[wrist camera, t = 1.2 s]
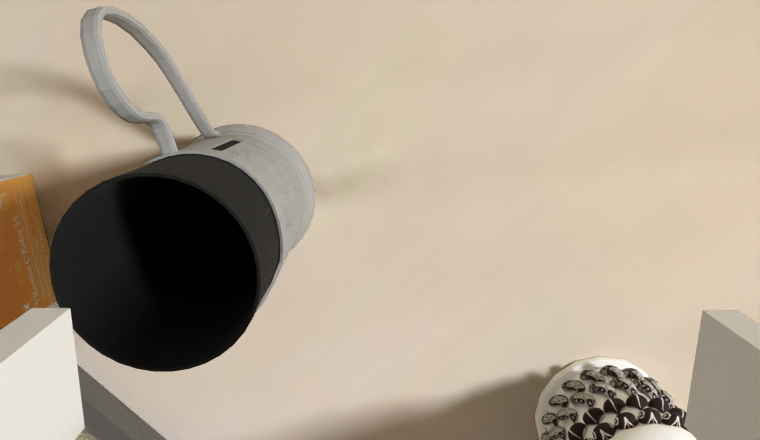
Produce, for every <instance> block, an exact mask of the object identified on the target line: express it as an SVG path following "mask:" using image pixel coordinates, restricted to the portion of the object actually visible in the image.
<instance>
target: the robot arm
mask: <svg viewBox="0 0 760 440" xmlns="http://www.w3.org/2000/svg"><path fill="white" fill-rule="evenodd" d="M684 426H685V427H686V428H687V429H688V431H689V432H690V433H691V434H692V435H693V436H694V437H695V438H696V439H697V440H760V324H759V323H758V322H756V321H755V320H753V319H751V318H750V317H748V316H747V315H745V314H744V313H742V312H740V311H739V310H703V312H702V318H701V324H700V331H699V337H698V343H697V350H696V356H695V362H694V369H693V375H692V381H691V387H690V394H689V400H688V406H687V413H686V419H685V425H684ZM84 428H85V425H84V417H83V409H82V401H81V392H80V384H79V376H78V368H77V360H76V351H75V343H74V335H73V327H72V318H71V310H70V308H31V309H30V310H29V311H27V312H26V313H24V314H23V315H21V316H20V317H19V318H17V319H16V320H14V321H13V322H11V323H10V324H9V325H7V326H6V327H4V328H3V329H1V330H0V440H75V439H76V438H77V437H78V435H79V434H80V433H81V432H82V430H83V429H84Z"/></svg>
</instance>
